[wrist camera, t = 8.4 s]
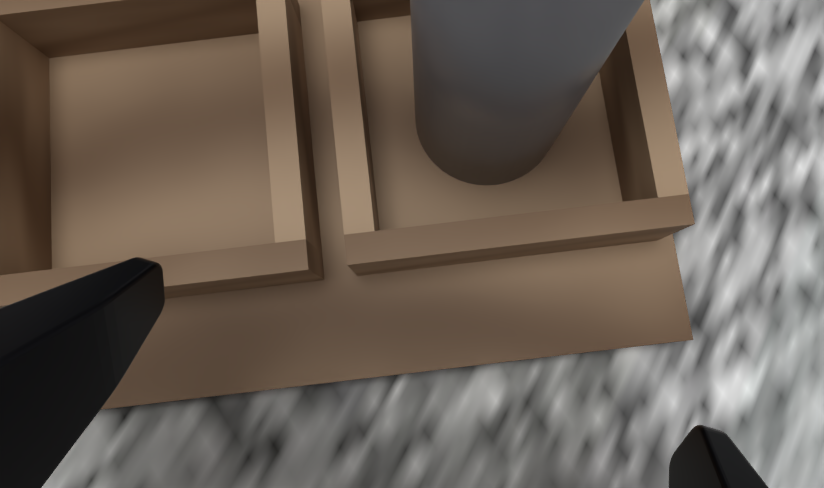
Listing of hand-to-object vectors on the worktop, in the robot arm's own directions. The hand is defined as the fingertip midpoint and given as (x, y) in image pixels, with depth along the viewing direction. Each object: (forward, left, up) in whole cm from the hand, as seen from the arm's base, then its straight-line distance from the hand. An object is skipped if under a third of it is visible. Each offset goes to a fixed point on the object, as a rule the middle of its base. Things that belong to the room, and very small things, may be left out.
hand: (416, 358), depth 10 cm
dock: (+7, +2, -9) cm, 11 cm away
